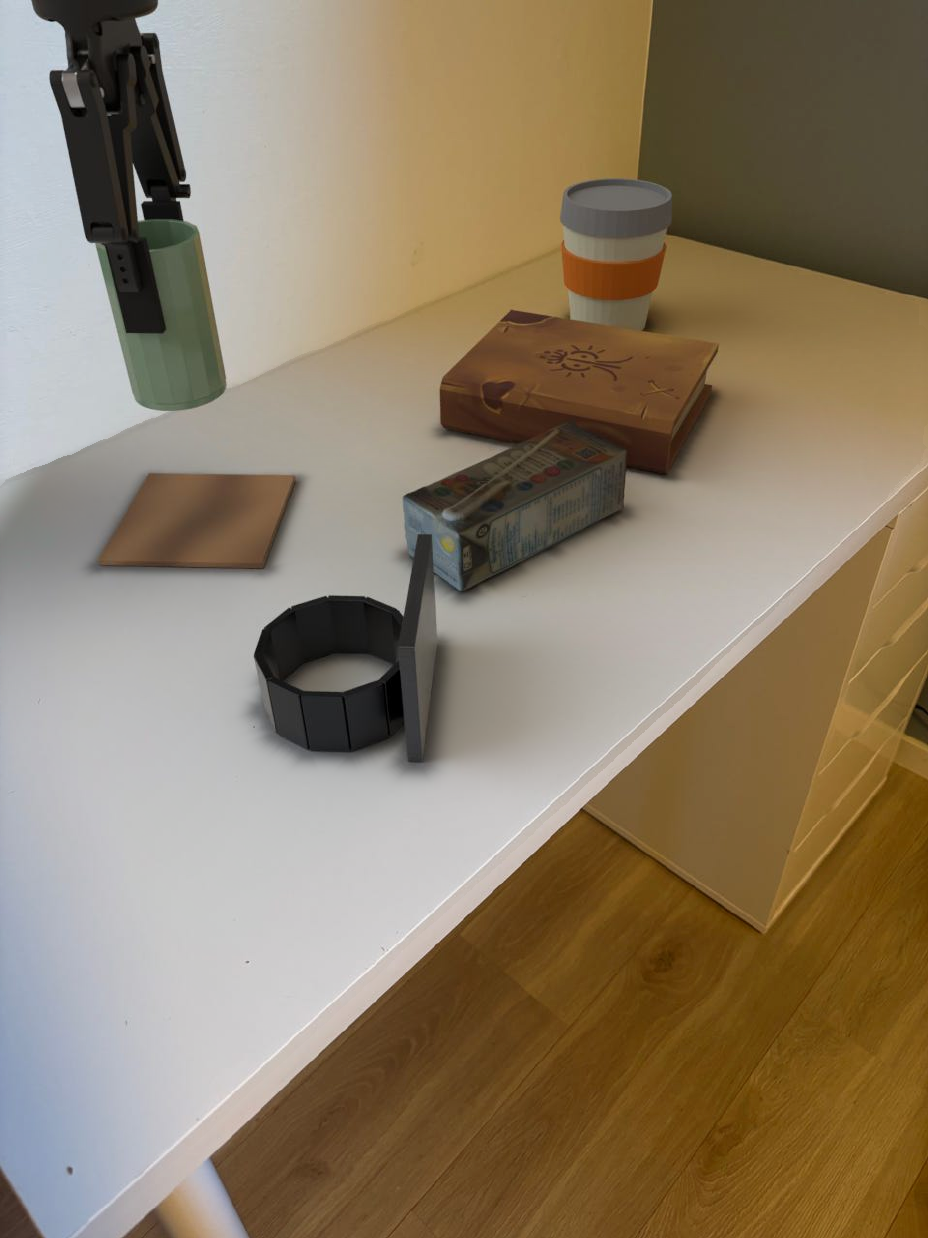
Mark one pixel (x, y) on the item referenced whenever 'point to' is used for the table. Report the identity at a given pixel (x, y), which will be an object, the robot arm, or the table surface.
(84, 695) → the table surface
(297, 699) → the ring cup holder
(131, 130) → the robot arm
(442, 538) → the beverage carton
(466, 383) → the diary
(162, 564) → the cork tile
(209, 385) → the cup
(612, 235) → the reusable coffee cup
